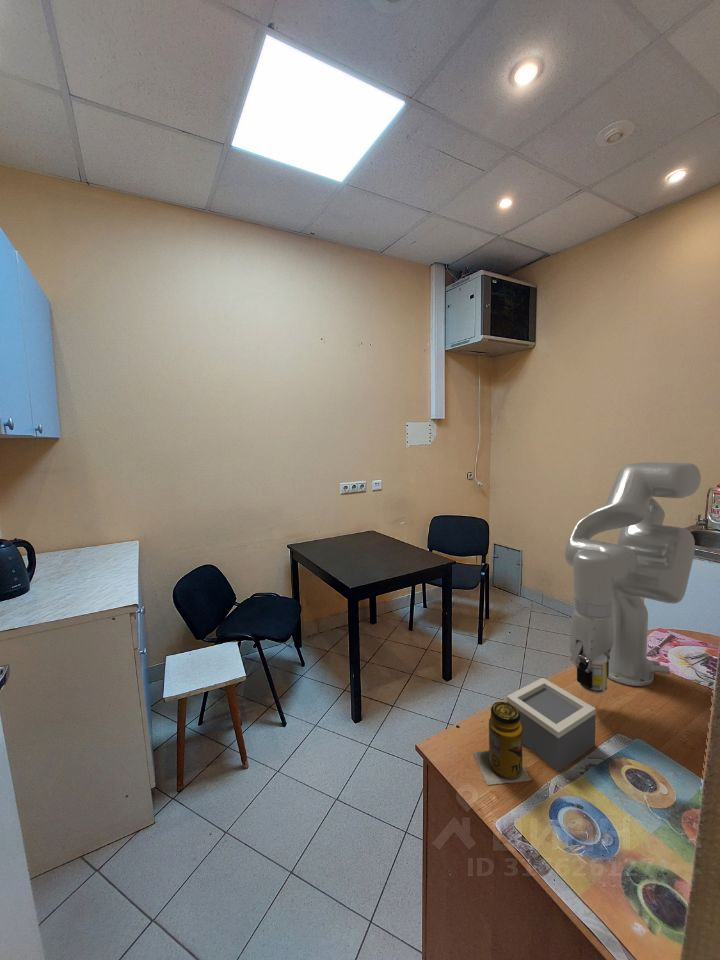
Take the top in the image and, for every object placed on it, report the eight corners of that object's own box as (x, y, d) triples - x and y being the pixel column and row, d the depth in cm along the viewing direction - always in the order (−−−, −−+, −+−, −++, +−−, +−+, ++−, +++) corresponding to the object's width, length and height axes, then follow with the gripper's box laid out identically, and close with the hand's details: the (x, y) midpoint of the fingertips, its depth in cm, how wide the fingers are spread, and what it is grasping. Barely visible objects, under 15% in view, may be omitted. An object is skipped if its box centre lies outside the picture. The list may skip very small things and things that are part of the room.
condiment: (531, 780, 71) (531, 721, 70) (487, 785, 70) (486, 726, 69) (512, 749, 78) (512, 695, 77) (472, 753, 77) (471, 699, 76)
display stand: (542, 710, 88) (542, 677, 88) (594, 745, 78) (595, 708, 77) (506, 731, 83) (506, 696, 82) (558, 772, 72) (558, 732, 71)
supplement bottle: (592, 676, 91) (592, 637, 90) (613, 691, 86) (613, 649, 84) (573, 682, 90) (573, 642, 88) (592, 697, 84) (592, 655, 83)
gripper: (597, 589, 92) (597, 658, 95) (553, 610, 84) (554, 685, 87) (631, 600, 86) (630, 674, 88) (586, 624, 78) (587, 704, 80)
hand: (592, 678), depth 87 cm, fingers closed on supplement bottle, 5 cm apart
